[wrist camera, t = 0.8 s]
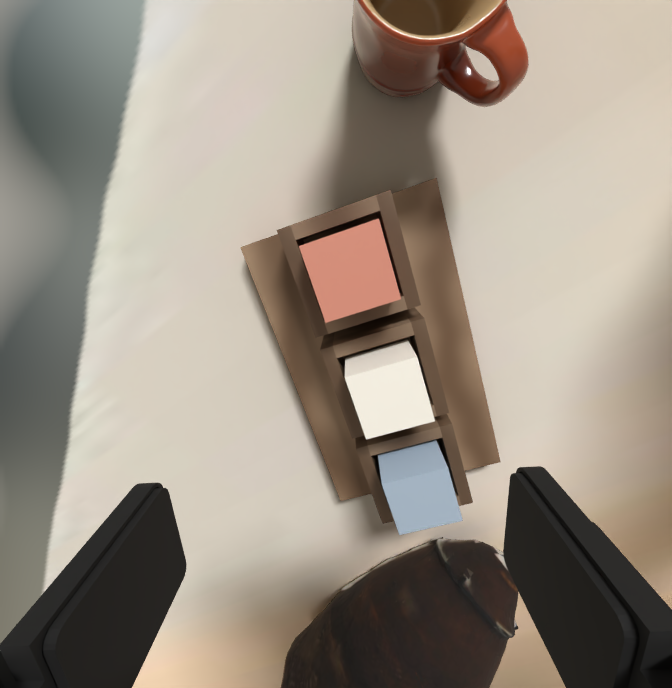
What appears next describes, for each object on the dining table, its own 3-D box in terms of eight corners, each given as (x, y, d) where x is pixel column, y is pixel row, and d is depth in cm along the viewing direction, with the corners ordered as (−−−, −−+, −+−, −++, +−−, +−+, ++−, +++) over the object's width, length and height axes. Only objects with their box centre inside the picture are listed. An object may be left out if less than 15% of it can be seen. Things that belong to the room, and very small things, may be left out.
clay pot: (620, 680, 27) (393, 880, 28) (517, 549, 43) (372, 683, 44) (492, 554, 26) (263, 766, 28) (433, 467, 42) (288, 606, 43)
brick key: (373, 221, 24) (378, 218, 20) (393, 289, 25) (401, 299, 22) (306, 244, 25) (298, 246, 21) (328, 310, 26) (325, 323, 22)
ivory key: (407, 339, 27) (417, 356, 23) (423, 395, 28) (435, 421, 24) (345, 357, 27) (344, 377, 23) (363, 412, 29) (366, 439, 25)
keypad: (430, 181, 28) (451, 167, 22) (492, 449, 35) (520, 491, 29) (247, 246, 30) (223, 249, 24) (341, 487, 37) (339, 533, 31)
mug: (318, 43, 25) (299, -79, 15) (411, -67, 23) (457, -286, 13) (422, 174, 28) (463, 140, 18) (515, 84, 26) (618, -9, 16)
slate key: (435, 437, 29) (447, 467, 25) (448, 484, 30) (462, 520, 27) (377, 452, 30) (381, 484, 26) (393, 498, 31) (399, 535, 27)
